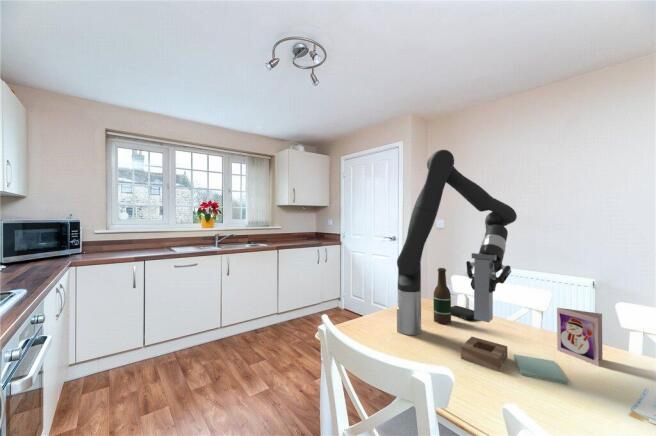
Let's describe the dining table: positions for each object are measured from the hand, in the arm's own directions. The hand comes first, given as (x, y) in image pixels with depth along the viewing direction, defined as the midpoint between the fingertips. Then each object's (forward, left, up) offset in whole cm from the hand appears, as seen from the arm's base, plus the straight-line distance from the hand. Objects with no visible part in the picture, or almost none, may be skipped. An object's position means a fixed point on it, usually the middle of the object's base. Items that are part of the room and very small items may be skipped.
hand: (481, 289), depth 90 cm
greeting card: (+31, +17, -23) cm, 42 cm away
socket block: (+1, +2, -23) cm, 23 cm away
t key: (0, +2, -10) cm, 10 cm away
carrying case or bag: (-5, +44, -24) cm, 50 cm away
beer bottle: (-13, +32, -23) cm, 42 cm away
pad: (+15, +1, -23) cm, 28 cm away
